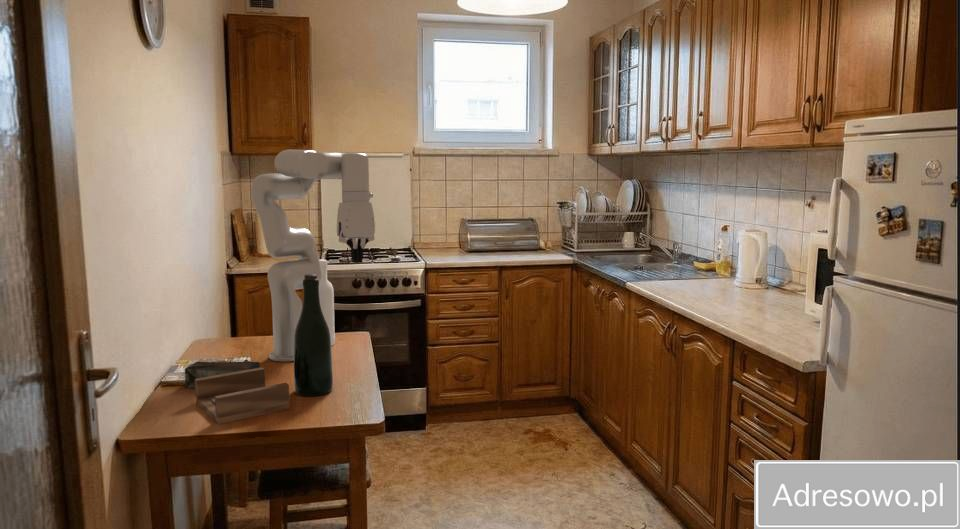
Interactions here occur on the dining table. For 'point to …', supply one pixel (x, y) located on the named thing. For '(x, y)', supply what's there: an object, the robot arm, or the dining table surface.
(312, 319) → the beer bottle
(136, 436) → the dining table surface
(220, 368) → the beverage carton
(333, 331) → the bottle
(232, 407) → the cradle
